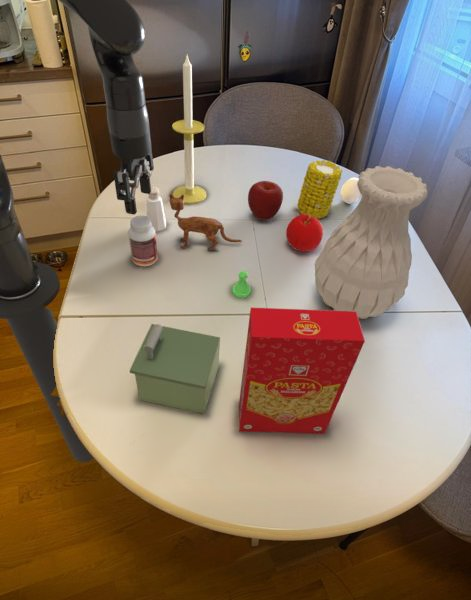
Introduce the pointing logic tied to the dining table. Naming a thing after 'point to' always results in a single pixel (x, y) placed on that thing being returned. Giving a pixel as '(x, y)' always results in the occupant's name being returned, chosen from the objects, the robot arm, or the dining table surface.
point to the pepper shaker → (156, 210)
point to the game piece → (242, 286)
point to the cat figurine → (197, 224)
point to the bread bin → (177, 391)
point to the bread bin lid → (176, 356)
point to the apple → (265, 199)
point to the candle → (188, 141)
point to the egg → (350, 191)
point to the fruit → (304, 232)
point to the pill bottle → (142, 241)
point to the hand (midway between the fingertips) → (139, 202)
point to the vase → (371, 245)
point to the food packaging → (296, 368)
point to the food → (319, 188)
